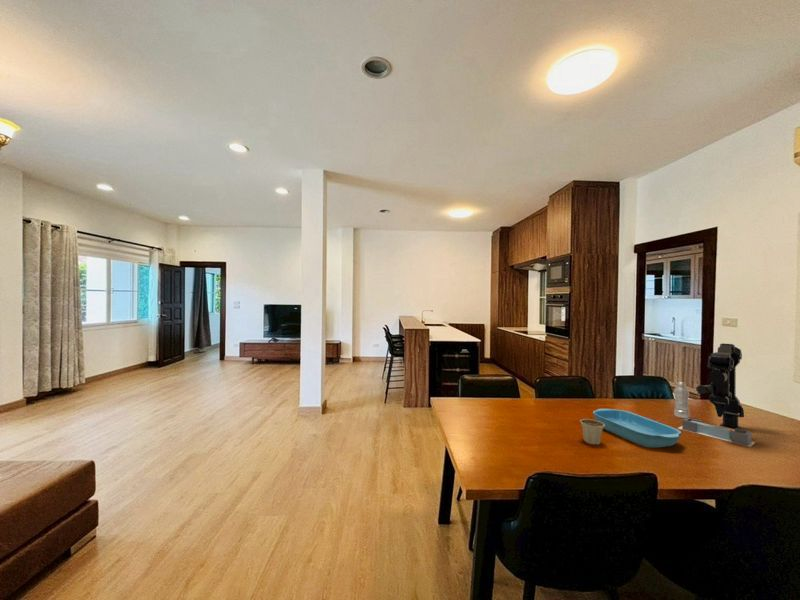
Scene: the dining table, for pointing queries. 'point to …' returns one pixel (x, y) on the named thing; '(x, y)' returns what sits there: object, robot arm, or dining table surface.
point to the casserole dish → (637, 428)
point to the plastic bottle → (681, 400)
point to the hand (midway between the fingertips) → (720, 414)
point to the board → (720, 438)
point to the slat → (713, 430)
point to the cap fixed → (690, 424)
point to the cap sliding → (741, 436)
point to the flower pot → (592, 431)
